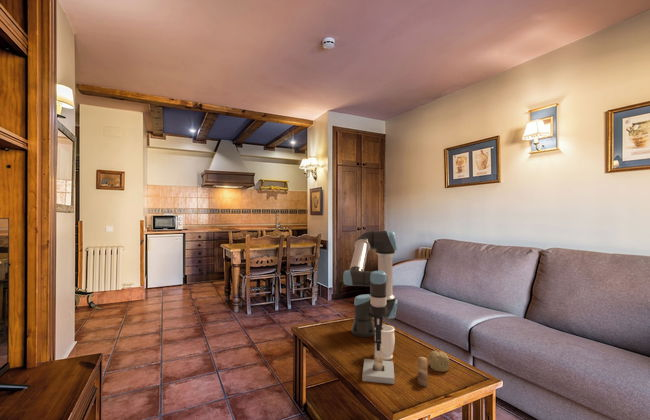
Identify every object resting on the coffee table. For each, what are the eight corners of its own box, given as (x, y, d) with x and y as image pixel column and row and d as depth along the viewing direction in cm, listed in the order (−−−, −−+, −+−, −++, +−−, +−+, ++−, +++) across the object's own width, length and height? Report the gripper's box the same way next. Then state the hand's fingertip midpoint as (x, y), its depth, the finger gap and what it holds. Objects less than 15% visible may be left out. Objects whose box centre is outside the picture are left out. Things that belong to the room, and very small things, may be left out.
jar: (395, 362, 153) (395, 332, 154) (374, 360, 155) (374, 330, 156) (394, 353, 164) (394, 324, 164) (375, 351, 166) (375, 323, 166)
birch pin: (374, 370, 145) (374, 345, 145) (382, 371, 144) (382, 346, 144) (374, 375, 141) (373, 349, 141) (382, 376, 140) (382, 349, 140)
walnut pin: (416, 382, 135) (416, 370, 135) (424, 381, 135) (424, 370, 136) (420, 386, 131) (420, 374, 131) (429, 386, 131) (429, 374, 132)
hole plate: (364, 363, 152) (364, 358, 152) (393, 366, 149) (393, 361, 149) (362, 380, 136) (362, 375, 136) (394, 384, 133) (394, 378, 133)
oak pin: (417, 373, 142) (417, 356, 142) (426, 374, 141) (426, 357, 141) (418, 378, 138) (418, 360, 138) (428, 379, 137) (427, 361, 137)
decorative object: (428, 370, 152) (421, 357, 149) (441, 356, 155) (434, 342, 152) (443, 381, 144) (436, 367, 141) (456, 366, 147) (450, 351, 144)
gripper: (371, 297, 156) (371, 338, 156) (369, 313, 132) (369, 362, 132) (386, 297, 155) (386, 339, 155) (386, 314, 130) (387, 363, 130)
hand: (378, 350), depth 143 cm, fingers open, 13 cm apart
